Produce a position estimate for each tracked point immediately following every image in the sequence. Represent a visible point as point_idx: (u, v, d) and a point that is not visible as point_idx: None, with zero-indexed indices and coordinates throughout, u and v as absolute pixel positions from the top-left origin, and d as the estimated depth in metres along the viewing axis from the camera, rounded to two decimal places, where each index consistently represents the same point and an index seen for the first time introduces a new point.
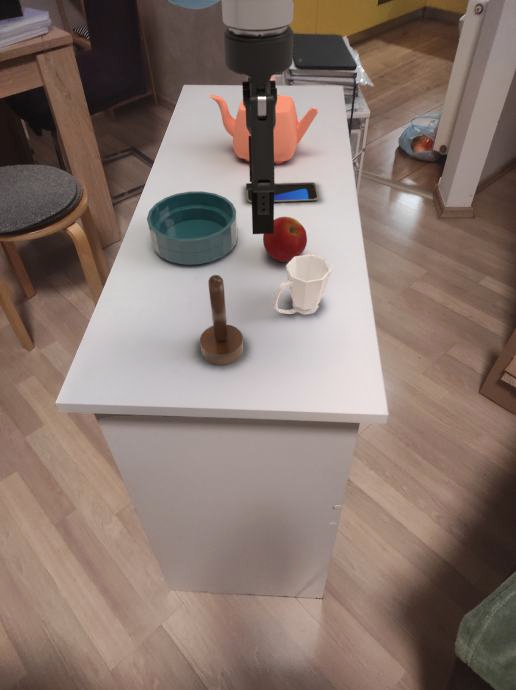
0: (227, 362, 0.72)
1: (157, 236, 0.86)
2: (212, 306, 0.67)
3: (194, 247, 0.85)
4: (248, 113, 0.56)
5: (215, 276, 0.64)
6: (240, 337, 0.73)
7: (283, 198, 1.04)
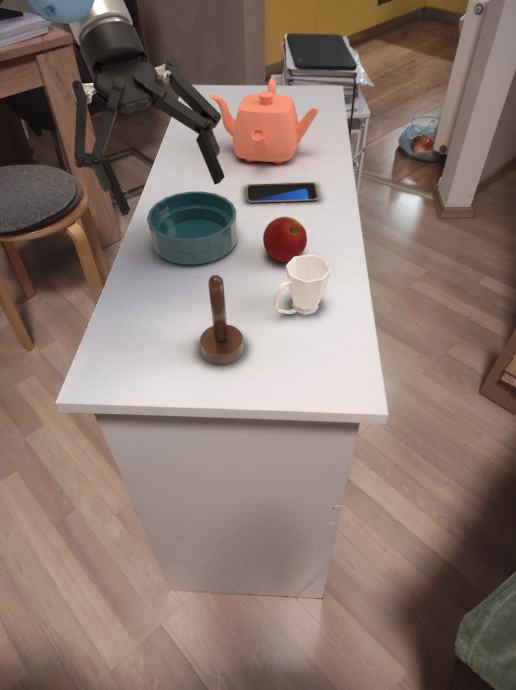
0: (227, 362, 0.72)
1: (157, 236, 0.86)
2: (212, 306, 0.67)
3: (194, 247, 0.85)
4: (156, 85, 0.63)
5: (215, 276, 0.64)
6: (240, 337, 0.73)
7: (283, 198, 1.04)
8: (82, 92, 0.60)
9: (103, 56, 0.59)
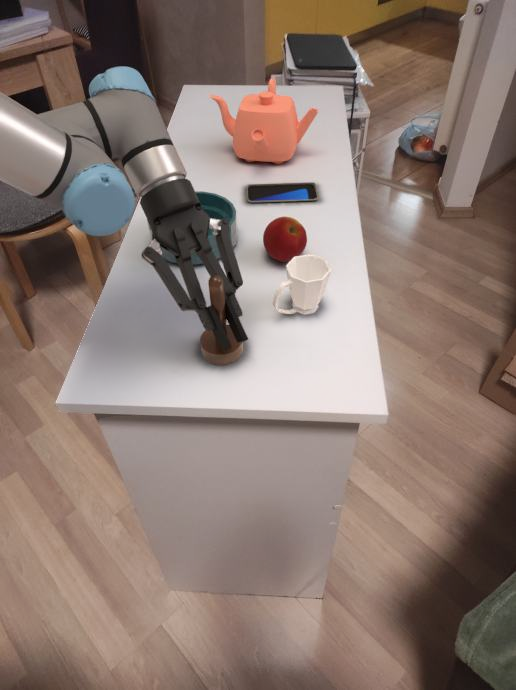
0: (227, 362, 0.72)
1: None
2: None
3: None
4: None
5: (215, 276, 0.64)
6: None
7: (283, 198, 1.04)
8: (156, 253, 0.64)
9: (164, 212, 0.64)
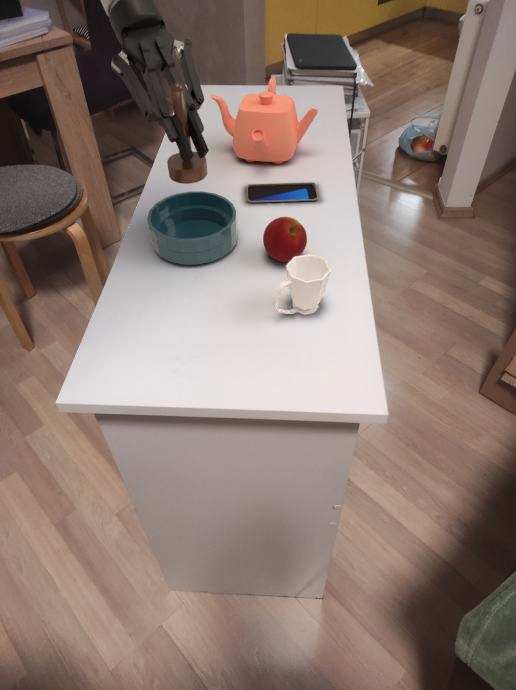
0: (192, 179, 0.79)
1: (157, 236, 0.86)
2: None
3: (194, 247, 0.85)
4: None
5: (176, 82, 0.71)
6: (204, 159, 0.80)
7: (283, 198, 1.04)
8: (123, 61, 0.71)
9: (130, 21, 0.70)
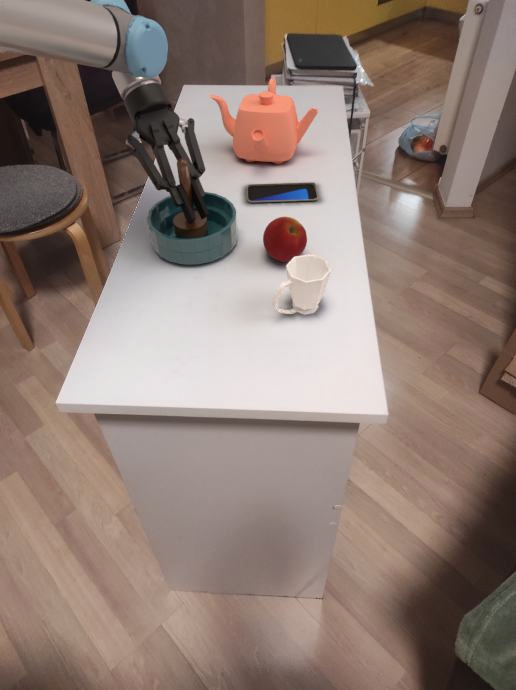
0: (194, 236, 0.91)
1: (157, 236, 0.86)
2: None
3: (194, 247, 0.85)
4: (176, 133, 0.86)
5: (182, 158, 0.83)
6: (205, 218, 0.92)
7: (283, 198, 1.04)
8: (136, 140, 0.83)
9: (142, 107, 0.82)
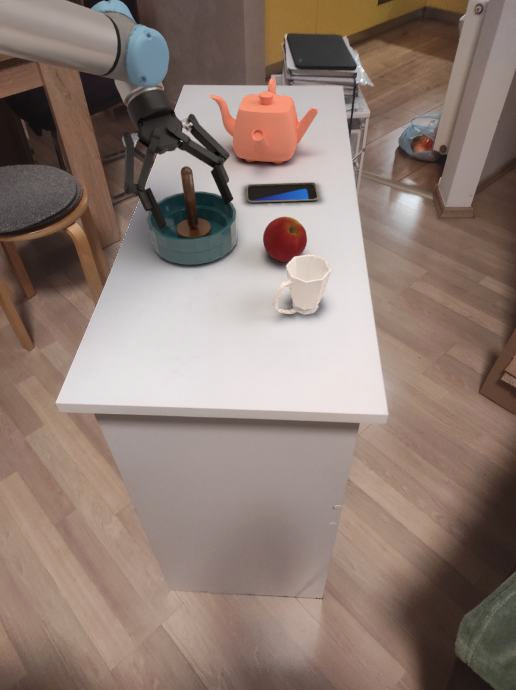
0: None
1: (157, 236, 0.86)
2: (184, 194, 0.86)
3: (194, 247, 0.85)
4: None
5: (186, 167, 0.83)
6: (208, 226, 0.92)
7: (283, 198, 1.04)
8: (130, 140, 0.82)
9: (145, 114, 0.82)
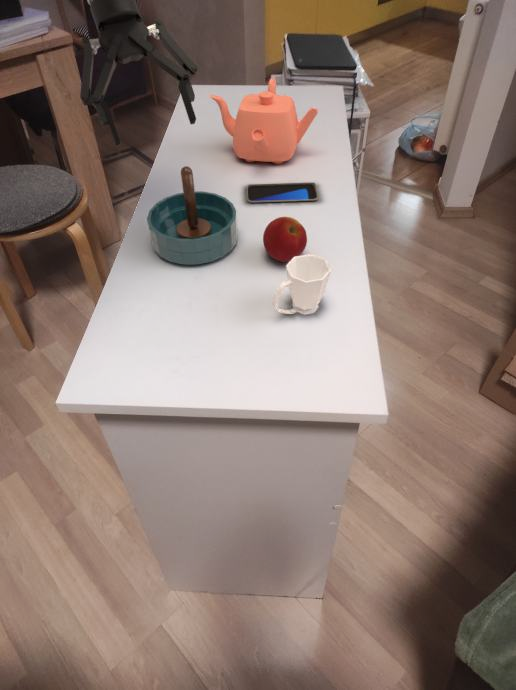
0: None
1: (157, 236, 0.86)
2: (184, 194, 0.86)
3: (194, 247, 0.85)
4: None
5: (186, 167, 0.83)
6: (208, 226, 0.92)
7: (283, 198, 1.04)
8: (89, 46, 0.79)
9: (104, 18, 0.78)
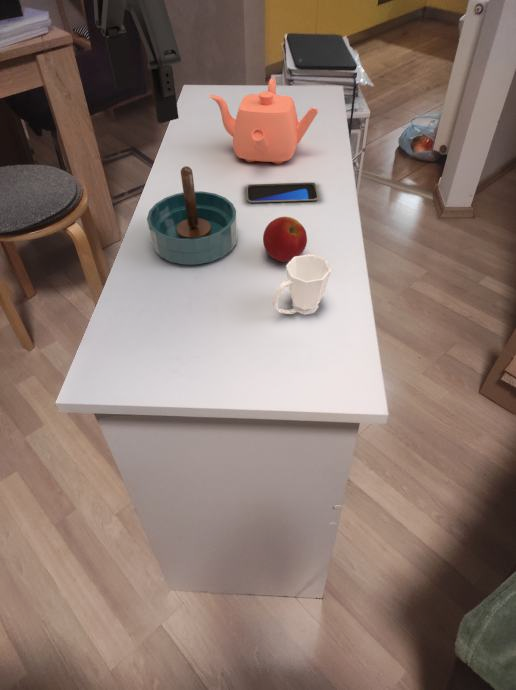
0: None
1: (157, 236, 0.86)
2: (184, 194, 0.86)
3: (194, 247, 0.85)
4: None
5: (186, 167, 0.83)
6: (208, 226, 0.92)
7: (283, 198, 1.04)
8: None
9: None
